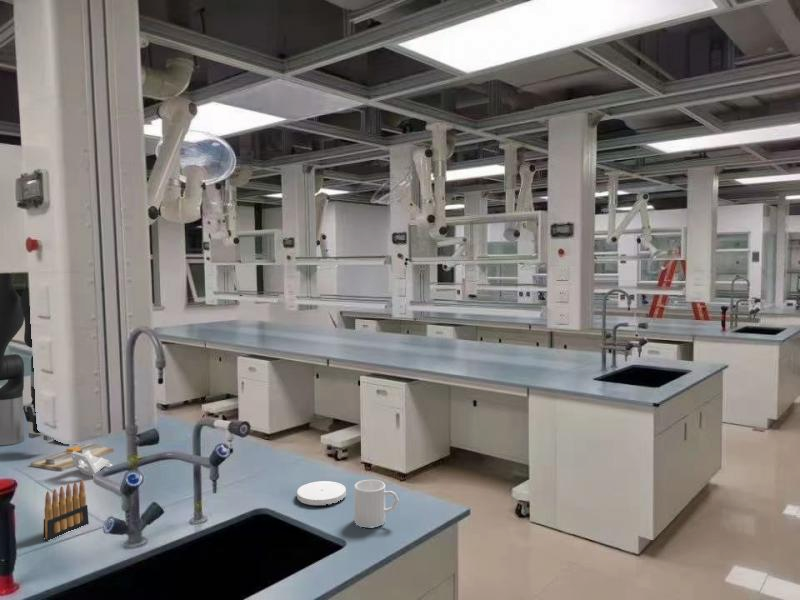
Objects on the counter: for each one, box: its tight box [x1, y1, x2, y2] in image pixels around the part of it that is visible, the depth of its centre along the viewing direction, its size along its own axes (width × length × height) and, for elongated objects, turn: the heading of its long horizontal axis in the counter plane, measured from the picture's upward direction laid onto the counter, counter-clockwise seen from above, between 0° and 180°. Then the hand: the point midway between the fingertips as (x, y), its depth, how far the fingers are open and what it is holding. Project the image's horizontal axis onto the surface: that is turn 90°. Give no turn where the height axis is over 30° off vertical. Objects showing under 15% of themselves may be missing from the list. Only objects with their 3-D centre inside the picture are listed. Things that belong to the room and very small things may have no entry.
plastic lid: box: [296, 480, 347, 506], centre depth 163 cm, size 14×14×2 cm
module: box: [27, 422, 54, 441], centre depth 201 cm, size 9×5×8 cm, turn 71°
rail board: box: [30, 442, 115, 471], centre depth 197 cm, size 14×21×2 cm, turn 161°
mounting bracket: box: [71, 450, 114, 477], centre depth 183 cm, size 12×6×11 cm, turn 60°
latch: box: [65, 445, 81, 453], centre depth 197 cm, size 3×3×1 cm
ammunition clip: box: [43, 478, 90, 541], centre depth 142 cm, size 11×2×12 cm, turn 154°
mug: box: [353, 479, 400, 527], centre depth 147 cm, size 8×12×10 cm
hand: (44, 430), depth 201 cm, fingers closed on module, 5 cm apart
